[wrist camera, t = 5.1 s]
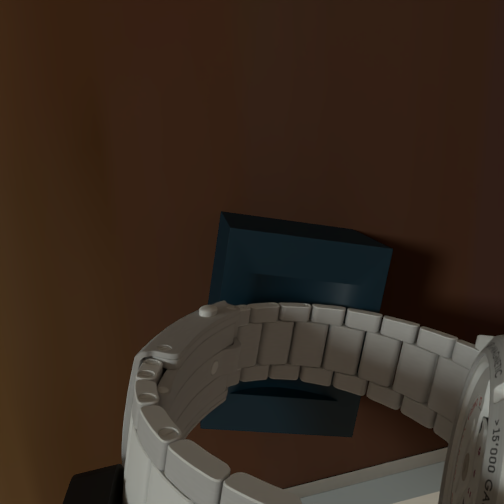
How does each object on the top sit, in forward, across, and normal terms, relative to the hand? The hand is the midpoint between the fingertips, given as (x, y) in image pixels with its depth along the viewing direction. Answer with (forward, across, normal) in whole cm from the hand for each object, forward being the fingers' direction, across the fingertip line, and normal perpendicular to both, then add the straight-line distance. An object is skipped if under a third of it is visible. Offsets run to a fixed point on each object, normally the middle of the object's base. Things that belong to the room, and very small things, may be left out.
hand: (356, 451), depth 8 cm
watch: (+8, 0, 0) cm, 8 cm away
